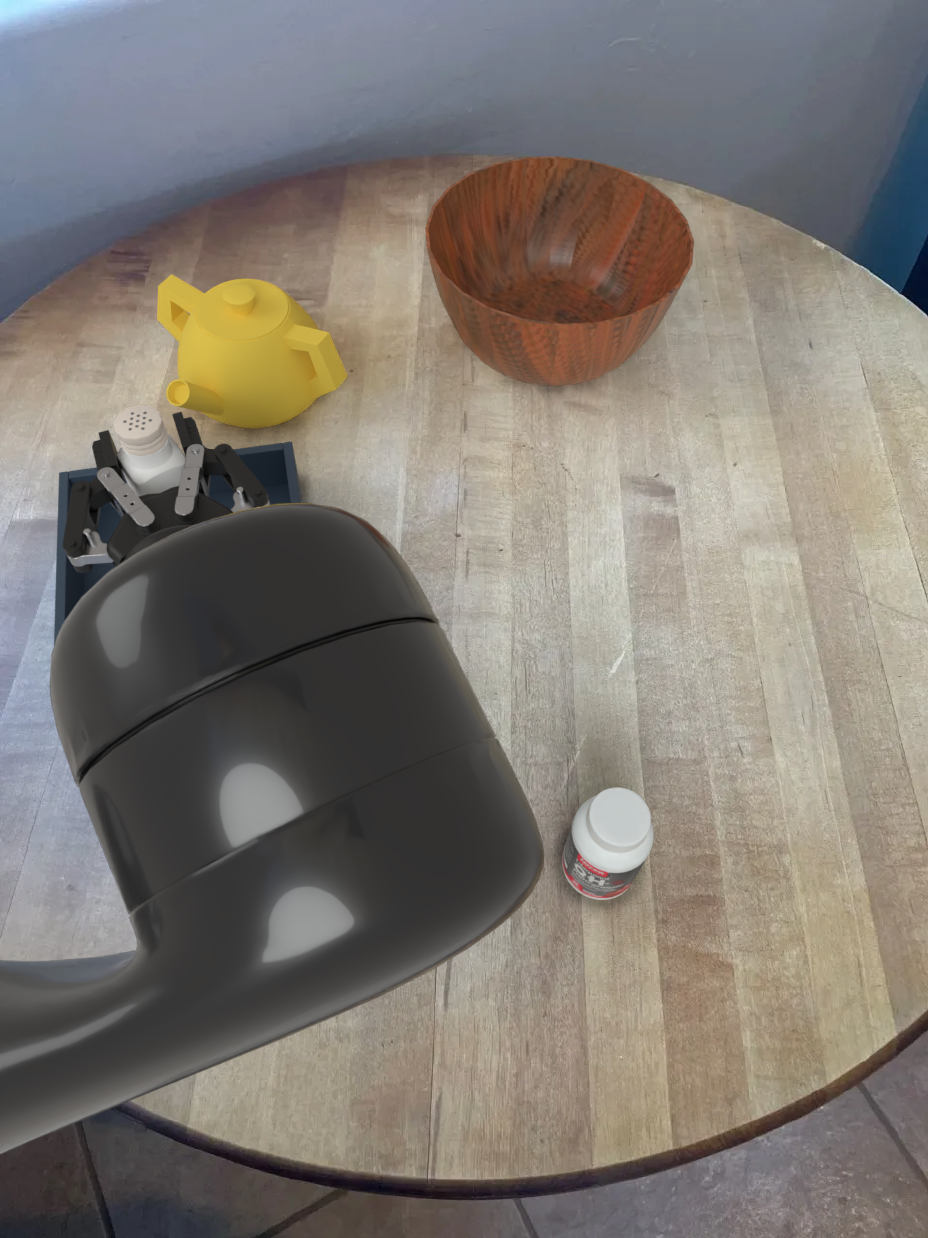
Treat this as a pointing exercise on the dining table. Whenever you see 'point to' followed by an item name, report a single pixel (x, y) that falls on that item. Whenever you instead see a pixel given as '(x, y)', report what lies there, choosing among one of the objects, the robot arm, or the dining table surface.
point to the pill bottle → (608, 843)
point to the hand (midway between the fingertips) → (143, 430)
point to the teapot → (246, 352)
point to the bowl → (556, 265)
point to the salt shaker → (147, 451)
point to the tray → (265, 462)
